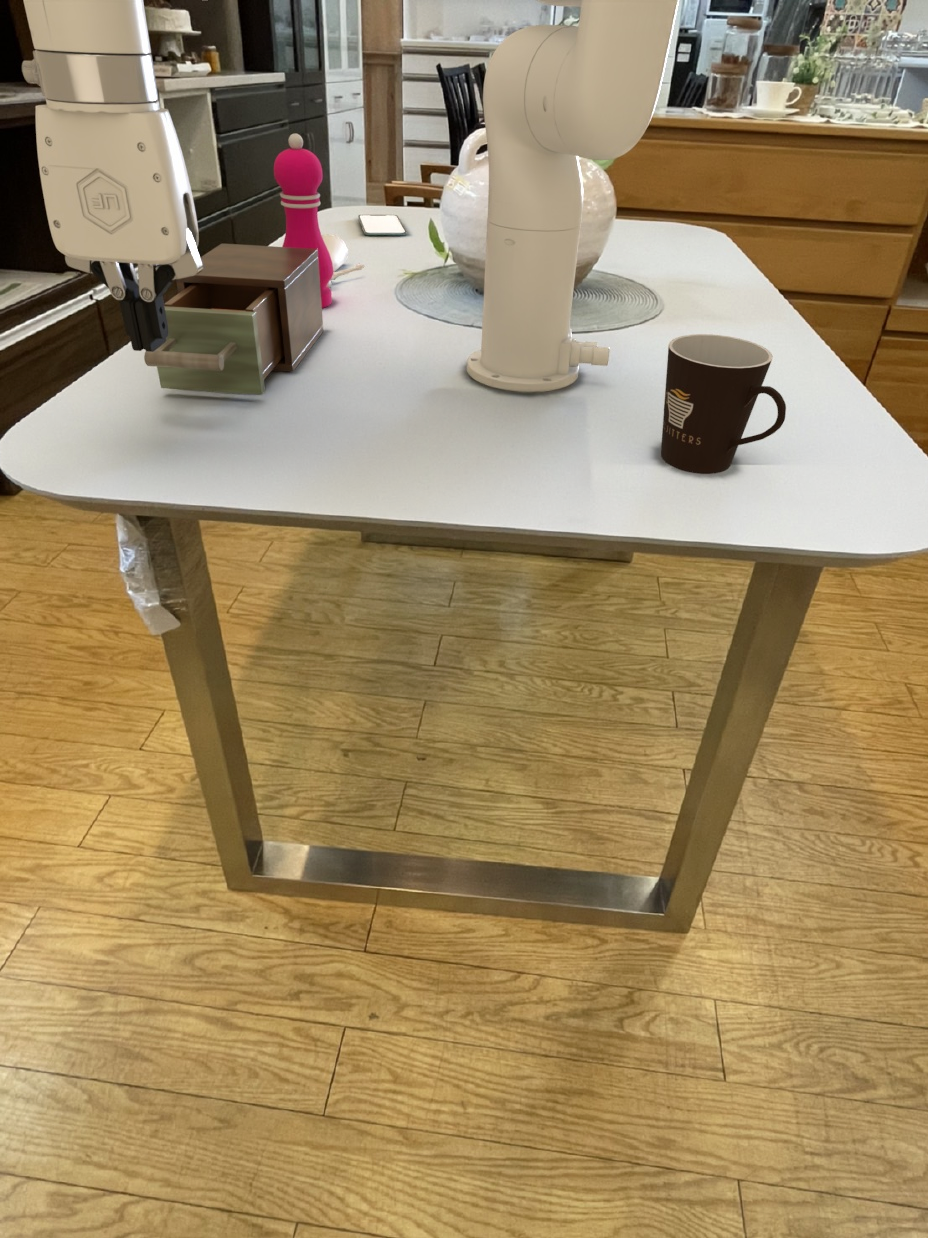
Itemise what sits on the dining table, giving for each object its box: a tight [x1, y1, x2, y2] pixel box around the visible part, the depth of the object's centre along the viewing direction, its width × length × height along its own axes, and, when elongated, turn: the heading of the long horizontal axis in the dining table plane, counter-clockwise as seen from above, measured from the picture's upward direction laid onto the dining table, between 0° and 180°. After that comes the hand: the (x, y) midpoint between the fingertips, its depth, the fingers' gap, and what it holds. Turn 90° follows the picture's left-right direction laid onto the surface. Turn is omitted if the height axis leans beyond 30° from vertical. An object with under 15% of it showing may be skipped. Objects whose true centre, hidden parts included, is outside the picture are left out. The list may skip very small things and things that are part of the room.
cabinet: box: [175, 243, 324, 373], centre depth 92 cm, size 15×12×10 cm
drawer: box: [143, 283, 284, 396], centre depth 82 cm, size 19×10×8 cm, turn 175°
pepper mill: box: [273, 133, 333, 309], centre depth 104 cm, size 7×7×20 cm
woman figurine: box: [321, 234, 365, 288], centre depth 121 cm, size 12×4×18 cm
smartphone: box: [357, 214, 407, 236], centre depth 151 cm, size 8×1×16 cm
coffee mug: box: [660, 333, 787, 475], centre depth 70 cm, size 12×9×10 cm
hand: (150, 345), depth 67 cm, fingers closed
